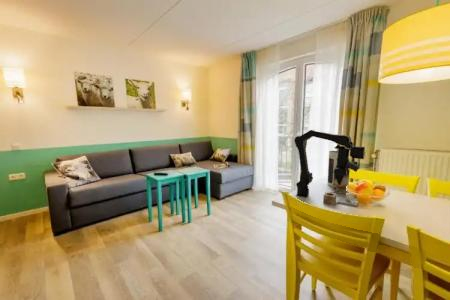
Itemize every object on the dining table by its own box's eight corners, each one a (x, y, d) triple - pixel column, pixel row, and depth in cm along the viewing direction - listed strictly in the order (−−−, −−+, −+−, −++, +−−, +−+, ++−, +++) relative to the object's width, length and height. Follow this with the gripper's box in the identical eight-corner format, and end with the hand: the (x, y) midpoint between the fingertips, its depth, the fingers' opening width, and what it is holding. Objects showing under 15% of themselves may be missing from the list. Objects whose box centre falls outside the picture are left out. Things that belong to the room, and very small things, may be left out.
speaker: (325, 183, 165) (327, 149, 161) (339, 183, 164) (341, 149, 160) (330, 187, 155) (332, 152, 151) (345, 187, 154) (348, 152, 150)
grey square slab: (337, 203, 127) (337, 194, 126) (339, 197, 135) (340, 189, 134) (357, 207, 121) (358, 198, 120) (358, 201, 129) (359, 192, 128)
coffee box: (332, 191, 146) (333, 169, 144) (333, 189, 151) (334, 167, 149) (347, 194, 141) (349, 170, 139) (348, 191, 146) (349, 168, 144)
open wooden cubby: (323, 202, 128) (323, 193, 127) (325, 199, 133) (325, 190, 132) (334, 205, 124) (334, 195, 123) (335, 201, 129) (336, 192, 128)
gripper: (358, 161, 111) (355, 190, 113) (360, 155, 126) (357, 181, 129) (334, 158, 117) (332, 186, 119) (338, 153, 132) (336, 177, 135)
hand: (340, 182), depth 125 cm, fingers open, 9 cm apart
